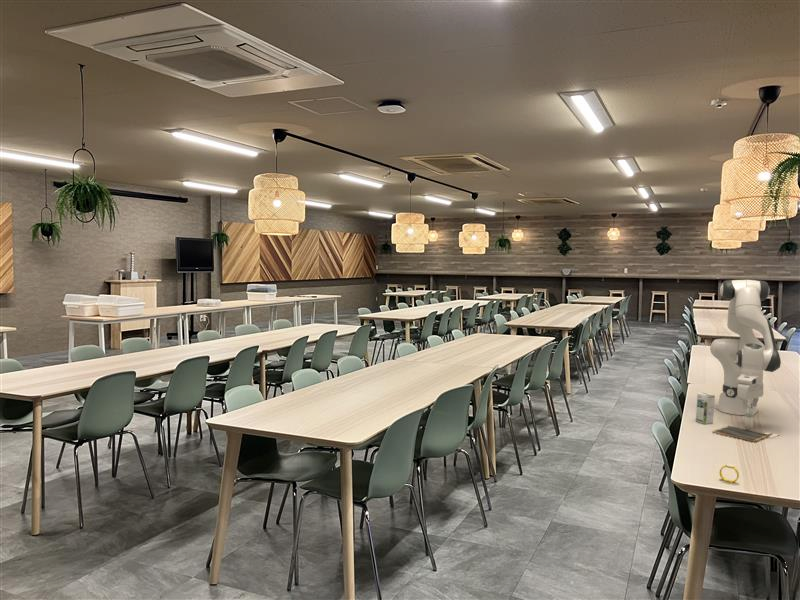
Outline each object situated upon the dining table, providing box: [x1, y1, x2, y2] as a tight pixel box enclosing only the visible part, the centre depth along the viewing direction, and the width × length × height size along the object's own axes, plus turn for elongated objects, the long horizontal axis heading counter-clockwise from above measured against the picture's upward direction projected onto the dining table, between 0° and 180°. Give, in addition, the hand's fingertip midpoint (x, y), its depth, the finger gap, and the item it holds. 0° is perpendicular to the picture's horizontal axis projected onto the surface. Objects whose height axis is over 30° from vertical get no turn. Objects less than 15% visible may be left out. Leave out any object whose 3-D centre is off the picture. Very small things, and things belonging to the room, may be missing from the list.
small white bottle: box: [744, 413, 755, 431], centre depth 276 cm, size 3×3×8 cm
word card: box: [763, 431, 779, 439], centre depth 269 cm, size 8×5×1 cm, turn 128°
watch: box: [718, 463, 740, 483], centre depth 209 cm, size 6×3×6 cm, turn 50°
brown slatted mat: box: [712, 425, 770, 444], centre depth 269 cm, size 17×18×1 cm
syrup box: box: [695, 391, 716, 425], centre depth 289 cm, size 6×6×14 cm
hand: (750, 407), depth 275 cm, fingers open, 8 cm apart
